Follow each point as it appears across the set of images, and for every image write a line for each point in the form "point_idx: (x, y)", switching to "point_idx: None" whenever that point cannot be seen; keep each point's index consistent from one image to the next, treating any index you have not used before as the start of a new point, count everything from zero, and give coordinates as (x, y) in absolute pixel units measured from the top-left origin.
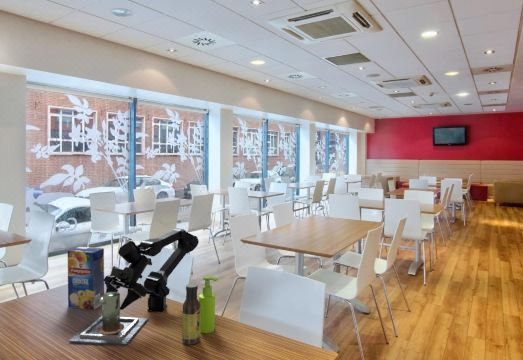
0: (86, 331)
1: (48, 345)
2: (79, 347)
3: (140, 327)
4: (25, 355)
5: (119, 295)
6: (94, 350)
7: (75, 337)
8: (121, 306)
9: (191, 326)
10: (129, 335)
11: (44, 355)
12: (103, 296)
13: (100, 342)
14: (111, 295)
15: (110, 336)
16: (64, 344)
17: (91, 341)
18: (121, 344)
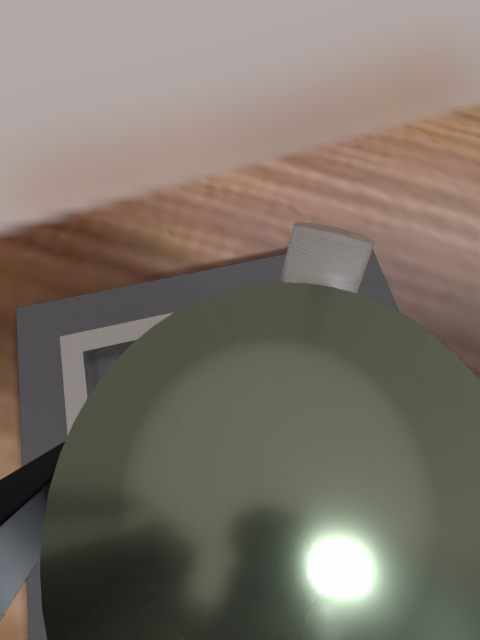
0: None
1: (430, 197)
2: (271, 227)
3: (31, 586)
4: (433, 116)
5: (61, 629)
6: (174, 227)
7: (365, 273)
8: (42, 462)
9: None
10: (46, 412)
11: (361, 135)
12: (391, 335)
13: (182, 275)
14: (249, 466)
15: (144, 319)
16: (368, 226)
17: (241, 267)
18: (47, 304)
